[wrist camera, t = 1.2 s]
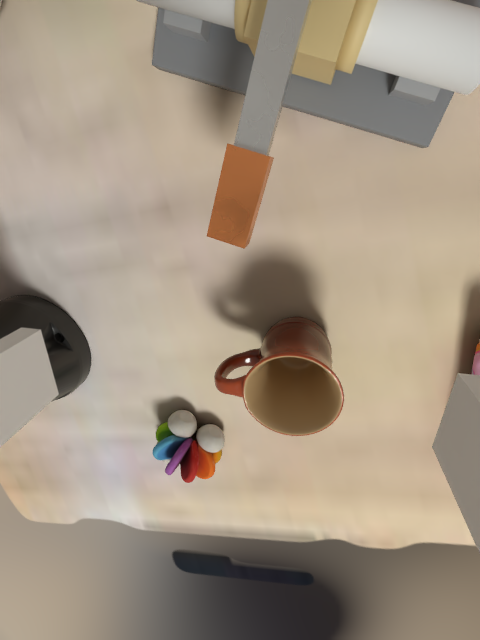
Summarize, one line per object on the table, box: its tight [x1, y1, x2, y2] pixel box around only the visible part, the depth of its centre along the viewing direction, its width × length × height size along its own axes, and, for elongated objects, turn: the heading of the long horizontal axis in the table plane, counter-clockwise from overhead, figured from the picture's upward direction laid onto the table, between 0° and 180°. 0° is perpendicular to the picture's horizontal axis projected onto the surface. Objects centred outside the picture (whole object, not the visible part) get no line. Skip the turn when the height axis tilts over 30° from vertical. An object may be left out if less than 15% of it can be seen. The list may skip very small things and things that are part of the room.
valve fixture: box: [137, 0, 480, 148], centre depth 21 cm, size 24×10×11 cm, turn 74°
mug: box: [215, 317, 344, 436], centre depth 33 cm, size 12×9×10 cm
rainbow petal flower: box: [153, 410, 225, 483], centre depth 44 cm, size 8×10×7 cm
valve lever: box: [207, 0, 312, 248], centre depth 18 cm, size 16×3×2 cm, turn 164°
